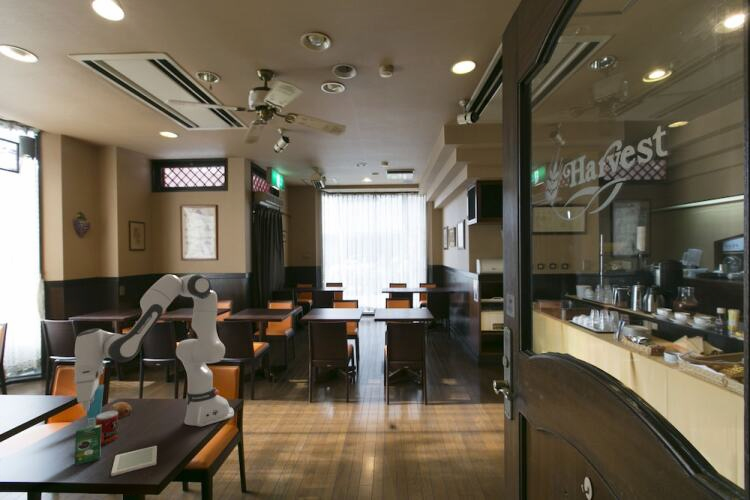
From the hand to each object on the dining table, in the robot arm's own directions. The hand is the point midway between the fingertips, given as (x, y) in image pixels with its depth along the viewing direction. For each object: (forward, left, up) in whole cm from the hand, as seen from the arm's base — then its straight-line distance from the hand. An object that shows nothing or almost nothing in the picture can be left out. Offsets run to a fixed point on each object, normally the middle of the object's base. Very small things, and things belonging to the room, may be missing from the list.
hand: (88, 406), depth 139 cm
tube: (+3, -35, -22) cm, 41 cm away
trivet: (-16, +10, -21) cm, 29 cm away
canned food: (-4, -17, -22) cm, 28 cm away
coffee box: (0, 0, -22) cm, 22 cm away
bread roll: (-6, -45, -22) cm, 50 cm away
